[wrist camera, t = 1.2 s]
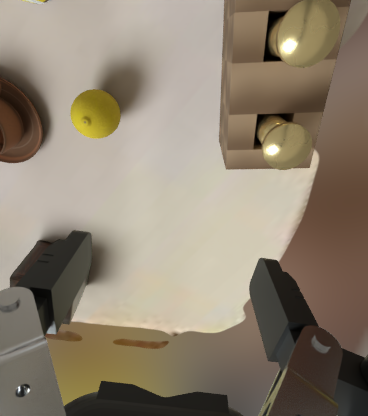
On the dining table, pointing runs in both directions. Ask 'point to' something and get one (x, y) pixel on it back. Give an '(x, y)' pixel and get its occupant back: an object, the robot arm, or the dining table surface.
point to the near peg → (303, 33)
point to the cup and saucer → (17, 125)
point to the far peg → (282, 141)
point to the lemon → (95, 114)
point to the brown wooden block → (266, 82)
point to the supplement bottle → (37, 1)
